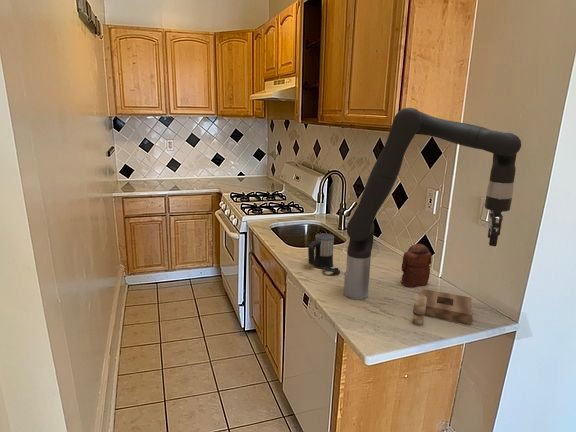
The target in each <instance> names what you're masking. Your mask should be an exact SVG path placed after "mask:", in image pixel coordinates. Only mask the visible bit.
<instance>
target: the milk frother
mask: <svg viewBox="0 0 576 432" xmlns="http://www.w3.org/2000/svg"><path fill="white" fill-rule="evenodd" d="M314 237H315V240H313V241H311V242H310V243H309V245H308V248H307V250H308V251H307V252H308V253H307V256H308V258H307V259H308V264H310V265H312V266H313V265H314V267H315V268H318V269H323V270H326V271H329V272H332V273H333V274H336V275H337V274H338V273H341V270H340V269H339V268H338V267H334V258H333V257H334V245H335V244H334V243H335V242H334V241H335V236H334V234H330V233H327V232H326V233H317V234H316V235H315V236H314Z"/></svg>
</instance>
